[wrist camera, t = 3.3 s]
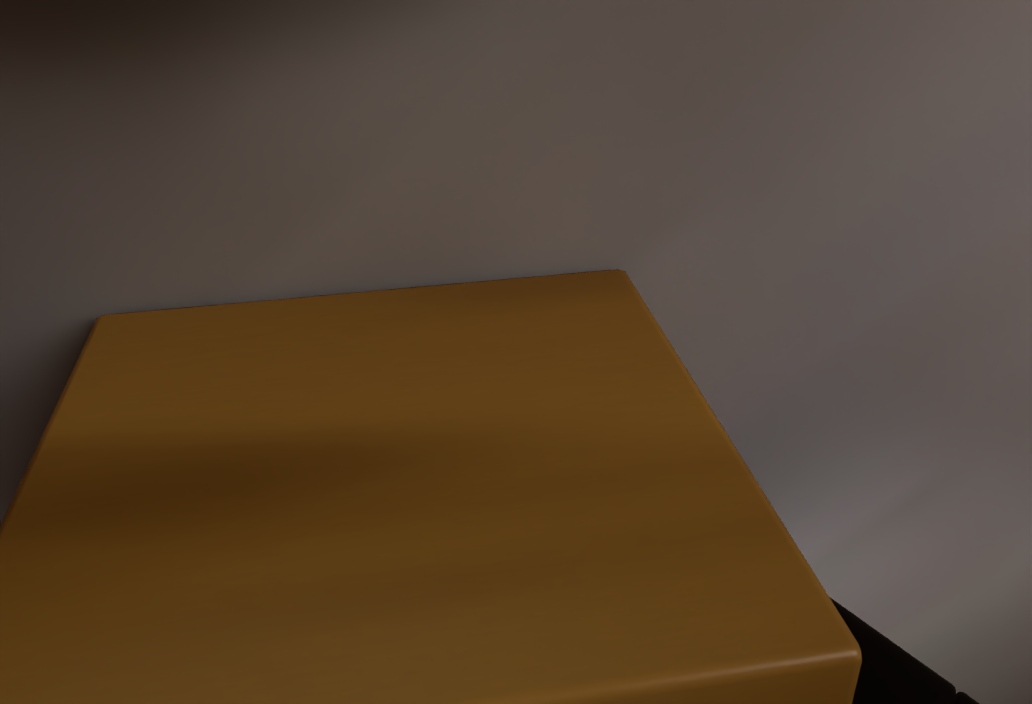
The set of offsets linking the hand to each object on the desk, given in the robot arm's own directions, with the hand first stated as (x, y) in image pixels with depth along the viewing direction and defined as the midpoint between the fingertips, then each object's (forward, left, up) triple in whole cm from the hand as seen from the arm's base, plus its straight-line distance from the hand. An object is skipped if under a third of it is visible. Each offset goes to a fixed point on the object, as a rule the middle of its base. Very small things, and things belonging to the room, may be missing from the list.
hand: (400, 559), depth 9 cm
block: (0, 0, -1) cm, 1 cm away
